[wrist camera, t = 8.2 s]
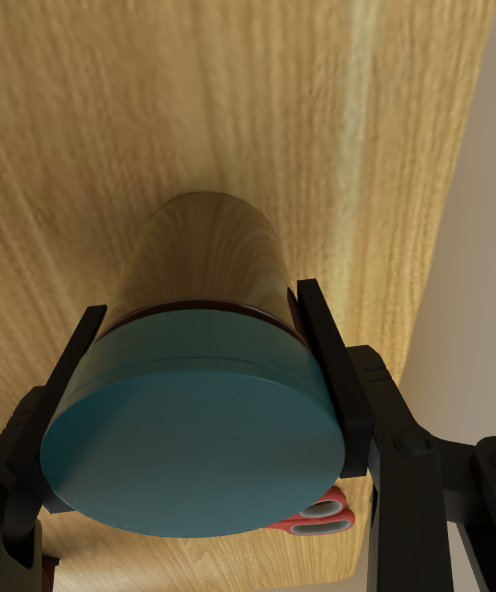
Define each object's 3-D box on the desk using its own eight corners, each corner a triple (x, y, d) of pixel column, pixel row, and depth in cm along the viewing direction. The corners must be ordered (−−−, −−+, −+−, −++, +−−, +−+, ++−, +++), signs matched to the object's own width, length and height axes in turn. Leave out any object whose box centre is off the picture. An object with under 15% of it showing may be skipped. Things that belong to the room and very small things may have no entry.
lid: (338, 451, 13) (357, 513, 11) (140, 491, 13) (128, 555, 12) (305, 275, 8) (326, 331, 7) (11, 349, 9) (-39, 417, 7)
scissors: (139, 513, 34) (136, 529, 33) (352, 480, 33) (357, 496, 32) (163, 544, 38) (161, 560, 37) (352, 516, 37) (356, 531, 36)
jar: (240, 162, 16) (264, 293, 7) (301, 284, 20) (365, 466, 11) (107, 235, 17) (-11, 417, 9) (188, 334, 21) (165, 528, 13)
